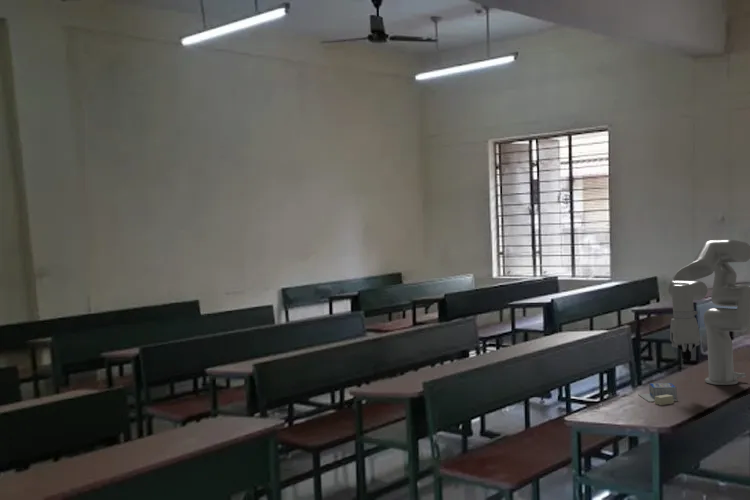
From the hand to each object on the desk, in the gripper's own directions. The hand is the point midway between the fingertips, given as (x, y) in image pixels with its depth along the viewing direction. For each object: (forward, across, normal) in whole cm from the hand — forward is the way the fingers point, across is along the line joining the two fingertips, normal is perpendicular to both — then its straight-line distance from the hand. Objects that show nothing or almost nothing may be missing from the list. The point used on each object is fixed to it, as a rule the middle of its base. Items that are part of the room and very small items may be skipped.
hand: (686, 360), depth 280 cm
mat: (+13, +13, +1) cm, 19 cm away
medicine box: (+11, +6, +1) cm, 13 cm away
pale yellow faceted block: (+13, +13, +10) cm, 21 cm away
